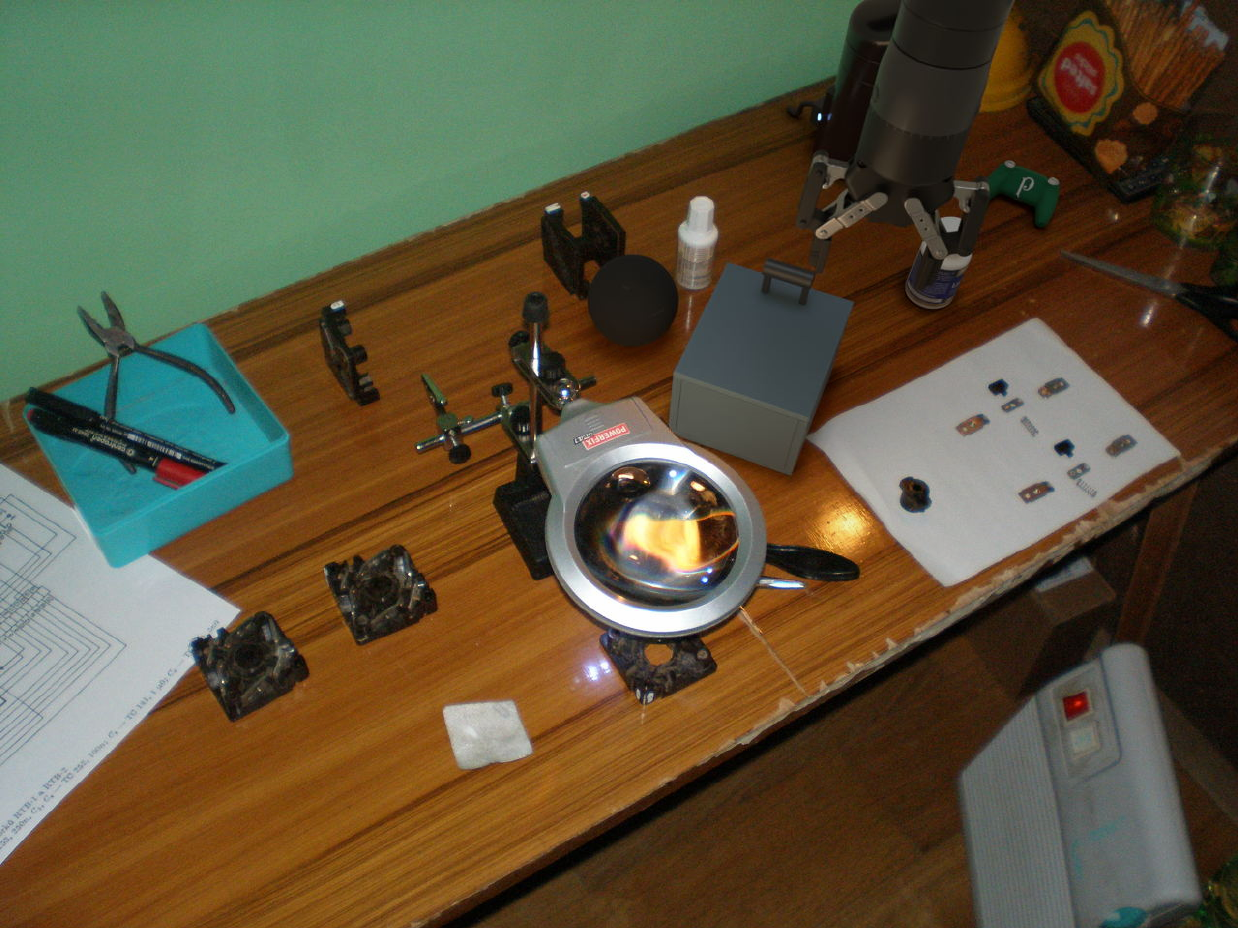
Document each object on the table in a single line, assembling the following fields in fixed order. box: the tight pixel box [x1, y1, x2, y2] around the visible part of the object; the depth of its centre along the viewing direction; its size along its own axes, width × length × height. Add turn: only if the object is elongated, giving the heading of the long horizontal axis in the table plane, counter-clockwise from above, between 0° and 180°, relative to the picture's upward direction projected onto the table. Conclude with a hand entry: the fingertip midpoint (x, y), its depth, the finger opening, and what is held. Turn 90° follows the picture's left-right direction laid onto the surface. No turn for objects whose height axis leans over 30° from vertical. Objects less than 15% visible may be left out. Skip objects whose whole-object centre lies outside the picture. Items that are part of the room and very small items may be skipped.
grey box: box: [668, 317, 850, 477], centre depth 103 cm, size 15×14×10 cm
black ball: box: [586, 253, 680, 348], centre depth 108 cm, size 10×10×10 cm
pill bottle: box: [904, 216, 973, 310], centre depth 111 cm, size 6×6×10 cm
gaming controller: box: [987, 160, 1061, 229], centre depth 122 cm, size 9×4×6 cm
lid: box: [672, 257, 855, 423], centre depth 96 cm, size 16×14×5 cm
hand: (868, 276), depth 84 cm, fingers open, 8 cm apart
